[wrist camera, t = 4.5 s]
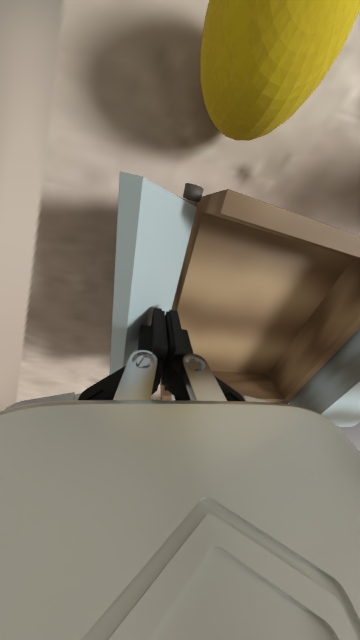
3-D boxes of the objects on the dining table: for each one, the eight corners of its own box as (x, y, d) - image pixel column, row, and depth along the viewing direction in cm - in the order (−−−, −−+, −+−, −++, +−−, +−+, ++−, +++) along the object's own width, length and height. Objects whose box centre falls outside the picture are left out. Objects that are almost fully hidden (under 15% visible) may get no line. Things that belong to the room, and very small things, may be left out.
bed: (180, 187, 13) (217, 156, 5) (390, 258, 19) (549, 289, 11) (147, 355, 22) (143, 431, 14) (297, 368, 27) (351, 427, 20)
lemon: (170, 104, 11) (197, -71, 4) (234, -21, 9) (500, -785, 2) (228, 176, 13) (307, 140, 6) (289, 90, 11) (497, -94, 4)
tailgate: (175, 201, 12) (106, 168, 6) (196, 207, 11) (143, 176, 6) (145, 360, 19) (101, 406, 14) (157, 366, 19) (117, 416, 14)
